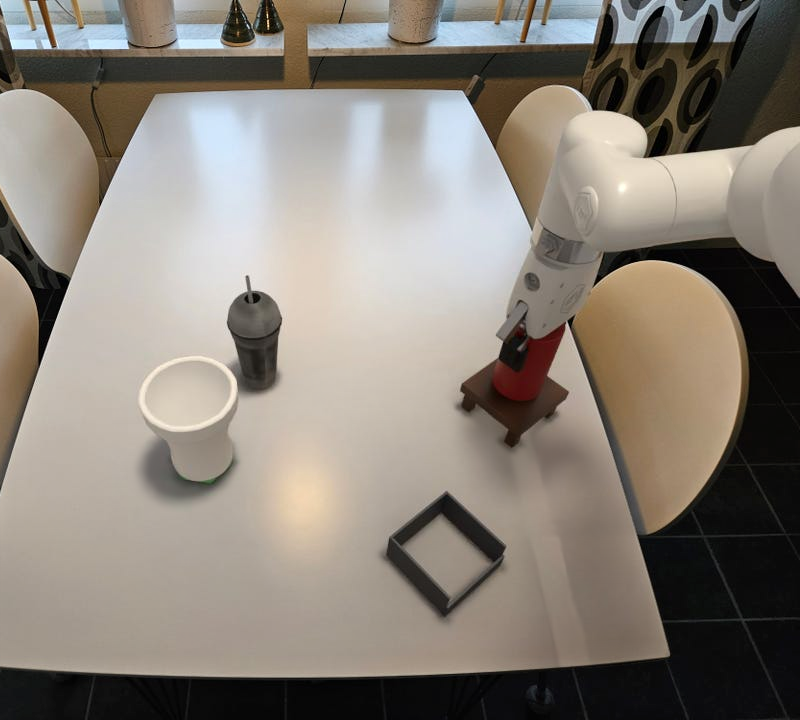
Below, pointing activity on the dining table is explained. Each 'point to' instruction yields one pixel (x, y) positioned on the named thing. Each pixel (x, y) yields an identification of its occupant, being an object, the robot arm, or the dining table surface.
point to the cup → (192, 414)
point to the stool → (511, 403)
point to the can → (529, 367)
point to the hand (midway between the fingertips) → (528, 350)
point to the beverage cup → (255, 335)
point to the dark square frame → (467, 526)
